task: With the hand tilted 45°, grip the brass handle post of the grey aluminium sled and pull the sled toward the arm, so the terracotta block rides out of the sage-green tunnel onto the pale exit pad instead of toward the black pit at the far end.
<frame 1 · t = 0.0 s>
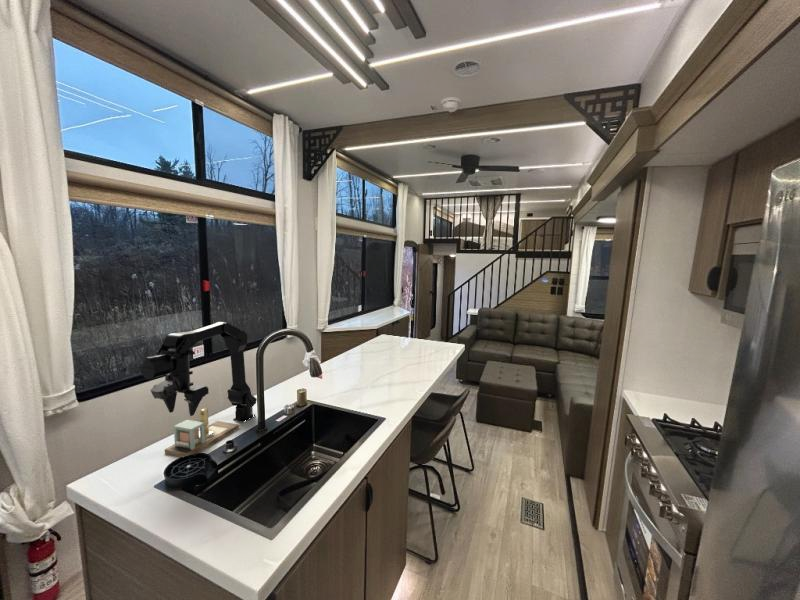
hand: (181, 413, 107), 14 cm above the worktop, tool pointing down, fingers open, 9 cm apart
tunnel: (190, 448, 111), resting on track board
track board: (204, 439, 117), on the worktop
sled: (195, 426, 113), point 7 cm above the worktop, slide at 0.0 cm, touching terracotta block
terracotta block: (189, 440, 111), point 3 cm above the worktop, touching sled
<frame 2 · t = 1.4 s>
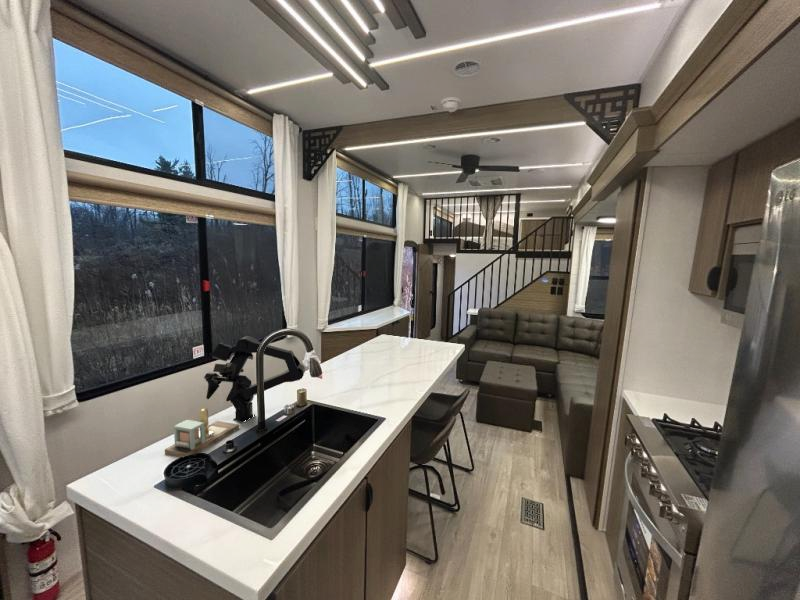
hand: (217, 399, 121), 14 cm above the worktop, tool tilted 45°, fingers open, 9 cm apart
nothing on the worktop moved.
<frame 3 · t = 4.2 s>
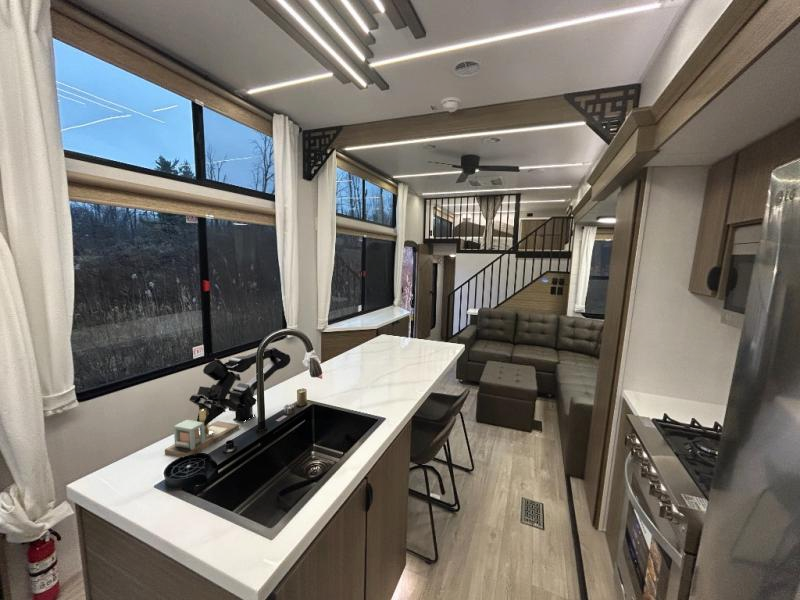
hand: (200, 424, 115), 7 cm above the worktop, tool tilted 45°, fingers closed on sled, 3 cm apart
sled: (195, 426, 113), point 7 cm above the worktop, slide at 0.0 cm, touching gripper, terracotta block
everything else where it was.
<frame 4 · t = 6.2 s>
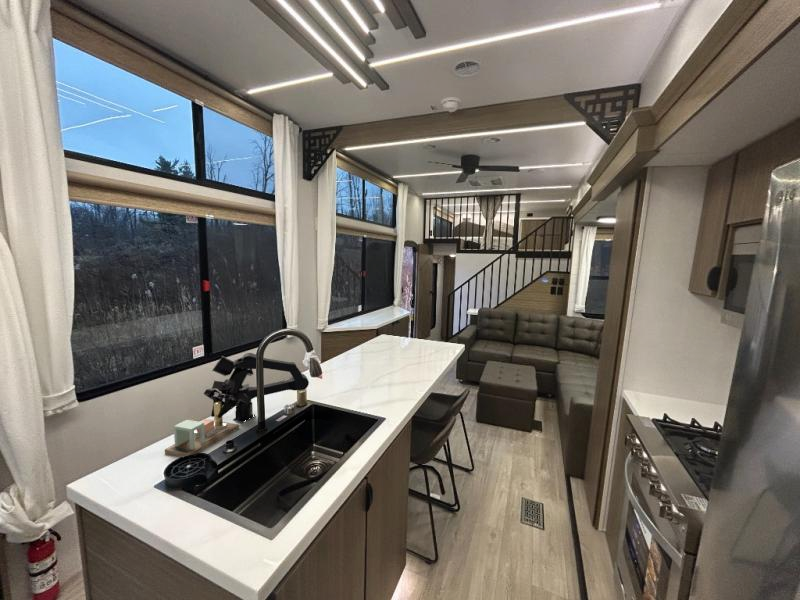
hand: (215, 417, 121), 7 cm above the worktop, tool tilted 45°, fingers closed on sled, 3 cm apart
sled: (210, 419, 119), point 7 cm above the worktop, slide at 6.5 cm, touching gripper, terracotta block
terracotta block: (205, 432, 117), point 3 cm above the worktop, touching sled
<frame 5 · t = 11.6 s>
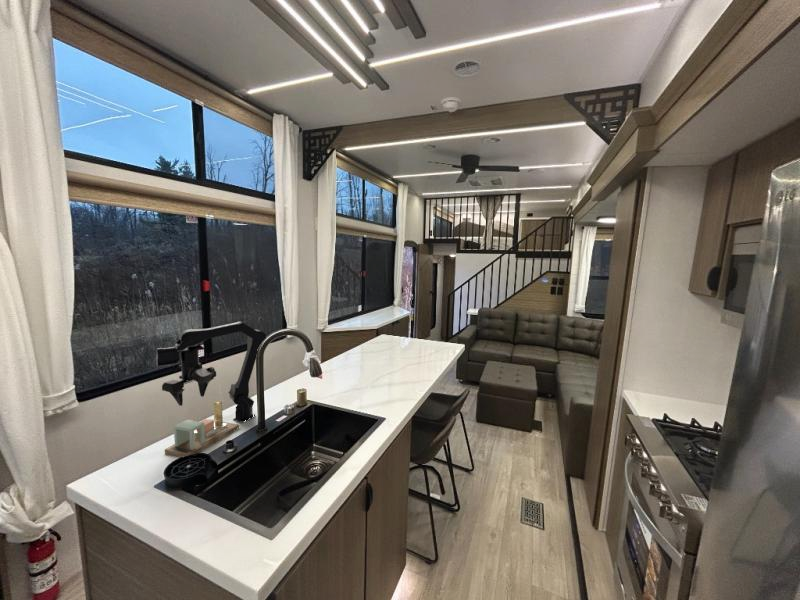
hand: (191, 400, 121), 13 cm above the worktop, tool pointing down, fingers open, 9 cm apart
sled: (210, 419, 119), point 7 cm above the worktop, slide at 6.5 cm, touching terracotta block
everything else where it was.
at the end: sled slide at 6.5 cm; terracotta block 0.5 cm from the target spot, point 2.8 cm above the worktop; terracotta block tilted 0° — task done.
